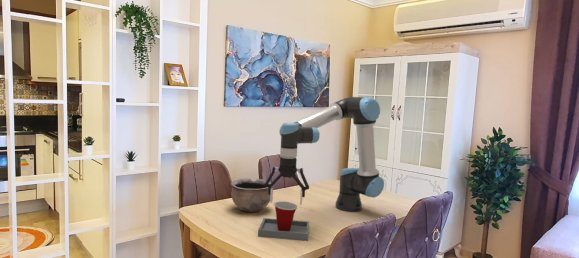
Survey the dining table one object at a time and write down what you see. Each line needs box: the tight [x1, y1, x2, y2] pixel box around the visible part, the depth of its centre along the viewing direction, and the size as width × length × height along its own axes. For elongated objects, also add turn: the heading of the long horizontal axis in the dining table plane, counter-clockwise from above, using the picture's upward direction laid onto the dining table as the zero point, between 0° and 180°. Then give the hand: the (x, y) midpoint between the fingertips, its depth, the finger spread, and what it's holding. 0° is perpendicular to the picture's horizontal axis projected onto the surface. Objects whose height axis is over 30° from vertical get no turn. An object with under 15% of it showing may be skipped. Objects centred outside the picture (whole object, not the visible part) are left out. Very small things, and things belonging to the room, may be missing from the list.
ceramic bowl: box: [230, 178, 272, 213], centre depth 195 cm, size 22×22×15 cm
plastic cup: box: [273, 200, 298, 231], centre depth 165 cm, size 11×11×12 cm
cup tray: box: [257, 217, 310, 242], centre depth 166 cm, size 22×16×3 cm
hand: (286, 203), depth 165 cm, fingers open, 13 cm apart
